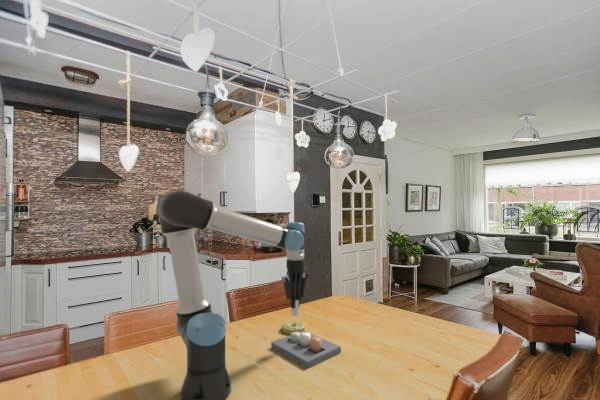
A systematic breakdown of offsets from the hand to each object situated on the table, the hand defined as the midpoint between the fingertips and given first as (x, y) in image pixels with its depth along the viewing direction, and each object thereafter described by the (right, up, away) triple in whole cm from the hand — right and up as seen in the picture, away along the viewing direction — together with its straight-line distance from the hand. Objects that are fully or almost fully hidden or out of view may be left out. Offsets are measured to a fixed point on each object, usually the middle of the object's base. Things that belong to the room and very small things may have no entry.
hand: (295, 315), depth 130 cm
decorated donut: (-1, -14, +16) cm, 21 cm away
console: (+4, -13, -5) cm, 14 cm away
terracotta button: (+8, -10, -9) cm, 16 cm away
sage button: (0, -12, 0) cm, 12 cm away
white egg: (+4, -10, -5) cm, 12 cm away
